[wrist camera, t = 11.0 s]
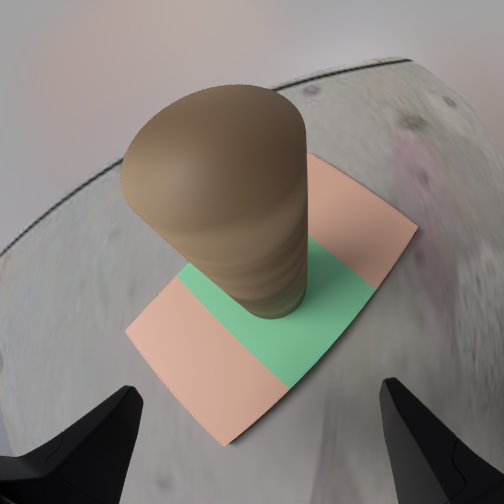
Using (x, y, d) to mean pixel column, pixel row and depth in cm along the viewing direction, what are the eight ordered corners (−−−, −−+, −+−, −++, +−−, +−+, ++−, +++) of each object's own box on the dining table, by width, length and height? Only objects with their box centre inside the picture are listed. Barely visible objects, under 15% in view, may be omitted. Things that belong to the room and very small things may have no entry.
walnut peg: (294, 328, 18) (270, 253, 5) (227, 307, 19) (91, 207, 6) (314, 260, 19) (321, 90, 6) (250, 244, 21) (173, 87, 8)
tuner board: (227, 444, 16) (224, 446, 15) (130, 332, 21) (125, 331, 20) (415, 231, 19) (418, 226, 18) (304, 155, 24) (304, 150, 23)
